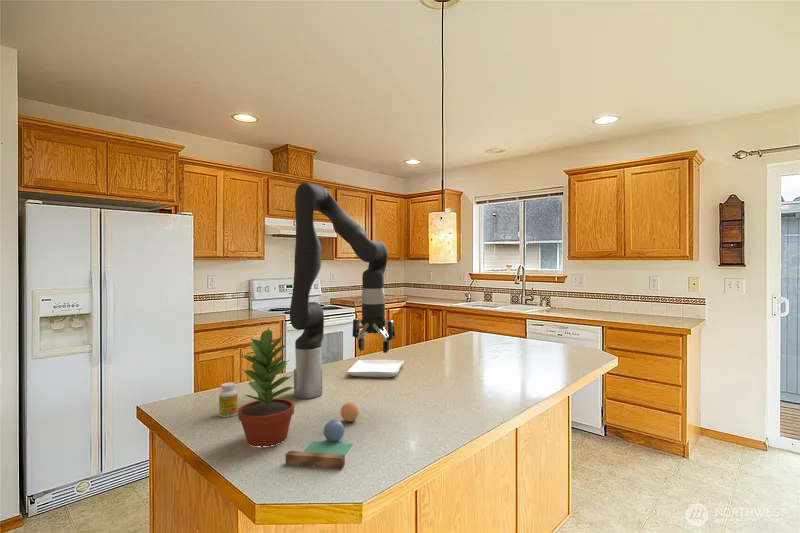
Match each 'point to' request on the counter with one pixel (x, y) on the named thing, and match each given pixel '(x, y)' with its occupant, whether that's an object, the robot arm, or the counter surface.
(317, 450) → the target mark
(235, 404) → the supplement bottle
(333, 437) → the object ball
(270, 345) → the potted plant
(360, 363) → the salad plate
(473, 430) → the counter surface
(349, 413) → the orange ball
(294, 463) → the stopper wall
